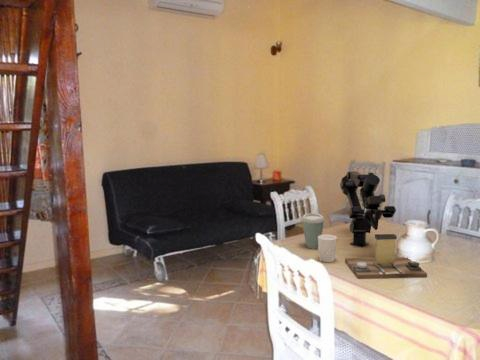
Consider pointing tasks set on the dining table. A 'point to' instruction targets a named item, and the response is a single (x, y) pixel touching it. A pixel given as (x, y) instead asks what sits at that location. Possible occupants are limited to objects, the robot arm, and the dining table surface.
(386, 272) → the control panel
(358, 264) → the grey push button
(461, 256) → the dining table surface
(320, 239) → the white cup
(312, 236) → the disposable coffee cup
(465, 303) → the dining table surface
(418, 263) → the black rocker switch
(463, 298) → the dining table surface
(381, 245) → the yellow upright block
